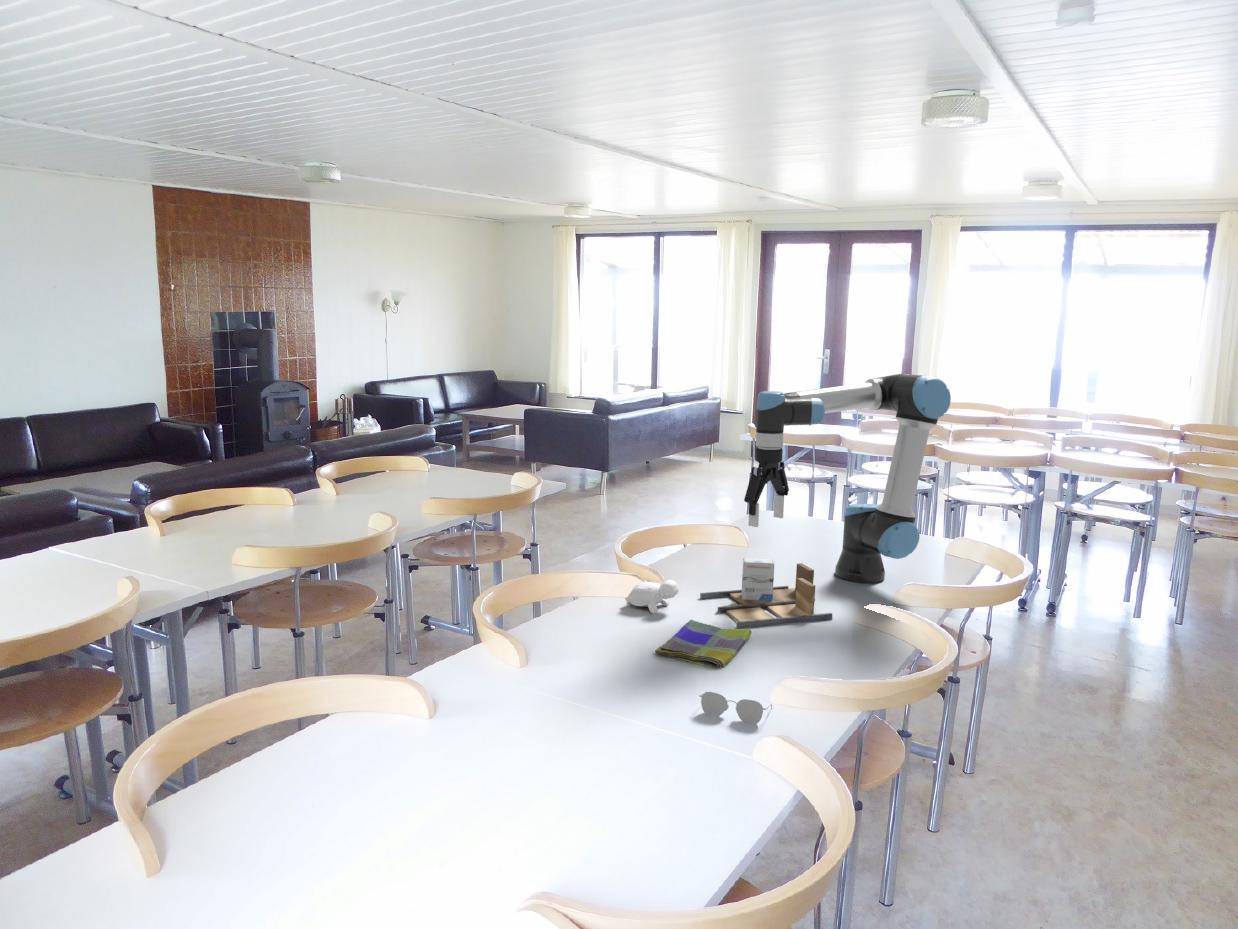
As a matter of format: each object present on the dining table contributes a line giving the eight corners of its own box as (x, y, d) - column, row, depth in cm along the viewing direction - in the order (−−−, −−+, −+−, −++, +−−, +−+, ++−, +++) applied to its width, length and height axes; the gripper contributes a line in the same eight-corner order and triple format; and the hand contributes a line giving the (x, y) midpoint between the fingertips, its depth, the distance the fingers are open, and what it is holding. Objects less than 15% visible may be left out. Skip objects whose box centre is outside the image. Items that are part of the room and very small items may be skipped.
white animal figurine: (628, 619, 233) (675, 609, 226) (619, 590, 233) (665, 579, 226) (643, 610, 241) (688, 600, 233) (634, 582, 241) (679, 571, 233)
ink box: (770, 598, 243) (772, 558, 242) (772, 603, 239) (774, 563, 237) (740, 597, 244) (742, 557, 242) (742, 602, 239) (743, 562, 237)
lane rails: (786, 590, 251) (787, 585, 251) (832, 619, 228) (832, 613, 228) (700, 598, 243) (700, 593, 243) (737, 628, 220) (738, 623, 219)
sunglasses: (697, 714, 173) (699, 689, 172) (709, 703, 180) (711, 680, 180) (764, 728, 167) (766, 703, 167) (773, 717, 175) (775, 693, 175)
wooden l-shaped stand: (797, 606, 238) (799, 576, 236) (816, 618, 228) (818, 587, 227) (726, 613, 231) (727, 582, 229) (742, 625, 222) (744, 593, 220)
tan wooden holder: (797, 590, 251) (799, 561, 249) (814, 601, 241) (816, 571, 240) (729, 596, 244) (731, 566, 243) (745, 607, 235) (746, 577, 233)
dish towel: (754, 638, 214) (755, 628, 214) (720, 673, 193) (721, 661, 193) (691, 625, 222) (691, 615, 222) (651, 657, 201) (651, 646, 200)
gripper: (779, 441, 246) (776, 512, 250) (732, 451, 228) (730, 527, 231) (803, 443, 241) (799, 516, 245) (757, 454, 223) (754, 532, 226)
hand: (766, 521), depth 238 cm, fingers open, 13 cm apart
